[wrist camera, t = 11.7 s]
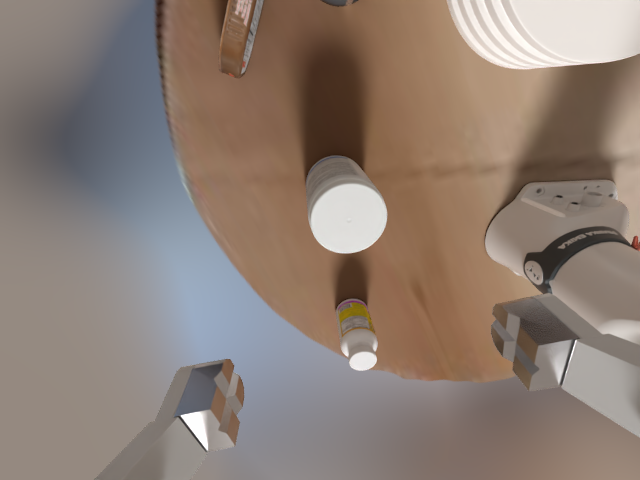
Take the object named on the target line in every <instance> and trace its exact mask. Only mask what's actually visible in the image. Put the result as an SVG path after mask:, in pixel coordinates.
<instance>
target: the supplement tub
mask: <svg viewBox="0 0 640 480" xmlns="http://www.w3.org/2000/svg"><path fill="white" fill-rule="evenodd" d="M306 196H307V209H308V219H309V224H310V227H311V229H312V232H313V234H314V236H315V238H316V239H317V241H318V242H319V243H320V244H321V245H322V246H324V247H325V248H327V249H329V250H331V251H334V252H337V253H354V252H358V251H361V250H363V249H366V248H367V247H369V246H370V245H372V244H373V243H374V242H375V241H376V240H377V239H378V238H379V237H380V235H381V234H382V232H383V230H384V228H385V225H386V221H387V209H386V205H385V202H384V200H383V197H382V195H381V194H380V192H379V191H378V189H377V188H376V187H375V185H374V184H373V183H372V182H371V180H370V179H369V178H368V177H367V175H366V174H365V173H364V171H363V170H362V169H361V168H360V167H359V165H358V164H357V163H356V162H355V161H353V160H352V159H350V158H347V157H344V156H336V155H335V156H328V157H325V158H323V159H321V160H319V161H318V162H317V163H316V164H315V165H314V166H313V167H312V168H311V170H310V171H309V173H308V176H307V179H306Z"/></svg>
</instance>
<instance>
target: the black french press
mask: <svg viewBox="0 0 640 480" xmlns="http://www.w3.org/2000/svg"><path fill="white" fill-rule="evenodd" d="M322 1H323V2H325V3H327V4H329V5H332V6H348V5H351V4H353V3H355V2H357V1H358V0H322Z"/></svg>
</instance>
